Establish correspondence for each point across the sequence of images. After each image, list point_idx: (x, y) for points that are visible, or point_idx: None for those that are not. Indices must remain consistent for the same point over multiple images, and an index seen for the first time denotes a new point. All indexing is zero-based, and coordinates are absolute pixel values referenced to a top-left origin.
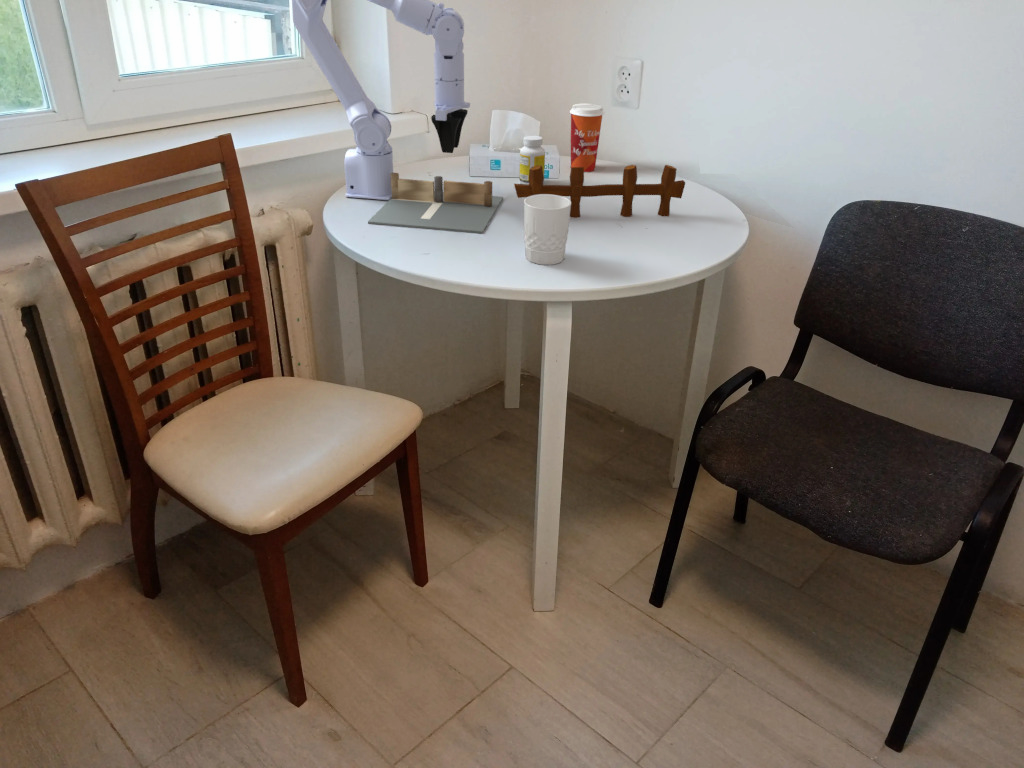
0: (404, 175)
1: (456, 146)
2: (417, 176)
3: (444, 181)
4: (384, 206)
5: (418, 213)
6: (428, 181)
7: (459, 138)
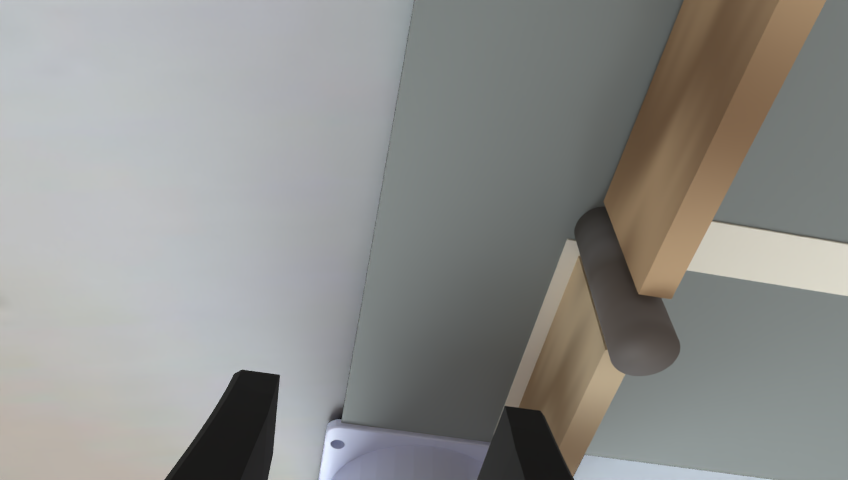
0: (51, 416)
1: (273, 391)
2: (40, 360)
3: (662, 292)
4: (654, 458)
5: (813, 320)
6: (606, 380)
7: (220, 448)
